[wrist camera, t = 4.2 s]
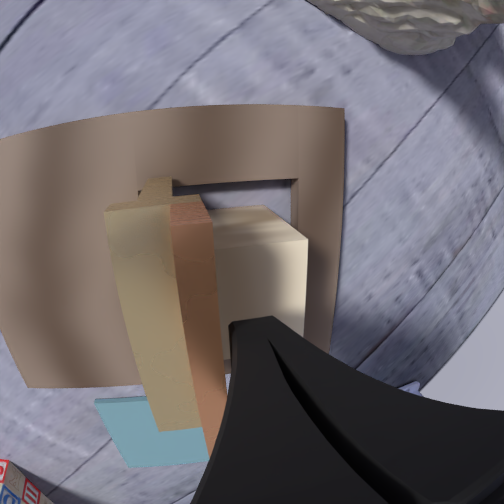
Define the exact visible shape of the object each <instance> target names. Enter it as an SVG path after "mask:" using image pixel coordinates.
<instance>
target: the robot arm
mask: <svg viewBox="0 0 504 504" xmlns="http://www.w3.org/2000/svg"><path fill="white" fill-rule="evenodd" d="M228 331H229V345H230V358H231V377H230V383H229V390H228V396H227V401H226V405H225V410H224V414H223V418H222V422H221V425H220V429H219V432H218V435H217V438H216V441H215V445H214V448H213V451H212V454H211V456H210V459H209V462H208V464H207V467H206V469H205V472H204V474H203V476H202V479H201V481H200V483H199V485H198V488H197V490H196V492H195V495H194V497H193V499H192V501H191V503H190V504H504V411H500V410H488V409H476V408H470V407H464V406H459V405H454V404H449V403H445V402H440V401H436V400H432V399H429V398H425V397H423V396H422V394H421V393H420V392H419V391H418V389H419V386H420V383H419V382H418V381H415V382H412V383H410V384H408V385H405V386H403V387H400V388H395V387H393V386H390V385H388V384H386V383H383V382H381V381H379V380H376V379H374V378H372V377H370V376H367V375H365V374H363V373H361V372H359V371H357V370H355V369H354V368H352V367H350V366H348V365H346V364H345V363H343V362H341V361H339V360H337V359H336V358H334V357H332V356H331V355H329V354H327V353H326V352H324V351H323V350H321V349H320V348H318V347H317V346H315V345H314V344H312V343H311V342H309V341H308V340H306V339H305V338H303V337H302V336H301V335H299V334H298V333H296V332H295V331H294V330H292V329H291V328H289V327H288V326H287V325H285V324H284V323H283V322H281V321H280V320H279V319H277V318H276V317H274V316H273V315H271V316H265V317H258V318H252V319H245V320H238V321H232V322H231V323H230V324H229V325H228Z"/></svg>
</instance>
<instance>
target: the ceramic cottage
mask: <svg viewBox="0 0 504 504" xmlns="http://www.w3.org/2000/svg"><path fill="white" fill-rule="evenodd" d="M307 1H309V2H310V3H312V4H314V5H317V7H318V8H319V9H321V10H322V11H324V12H325V13H326V14H330V15H332V16H334V17H335V18H337V20H341V21H342V22H343V23H344V24H345V25H346V26H347V27H349V28H351V29H352V30H353V31H355V32H356V33H358V34H359V35H361V36H363V37H365V38H366V39H368V40H370V41H373V42H374V43H376V44H380V45H379V46H380V47H382V48H383V49H385V50H388V51H391V52H394V53H397V54H400V55H426V54H430V53H434V52H436V51H438V50H442V49H446V48H448V47H451V46H453V45H454V42H455V39H456V37H459V36H461V35H464V34H467V35H469V34H470V33H471V32H473V31H474V30H475V29H476V28H477V27H478V26H479V25H480V24H498V23H504V0H307Z"/></svg>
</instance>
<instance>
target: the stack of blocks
mask: <svg viewBox="0 0 504 504" xmlns="http://www.w3.org/2000/svg"><path fill="white" fill-rule="evenodd" d="M0 504H54V503H53V502H52V501H50V500H49V499H48V498H47V497H46V496H45V495H44V494H42V493H41V491H40V490H39V489H38V488H36V487H35V486H34V485H33V484H32V483H31V482H30V481H29V480H28V479H27V478H26V477H25V476H24V475H23V474H22V473H21V472H20V471H19V470H18V469H17V468H16V467H15V466H14V465H13V464H12V462H11V461H9V460H2V459H0Z"/></svg>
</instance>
